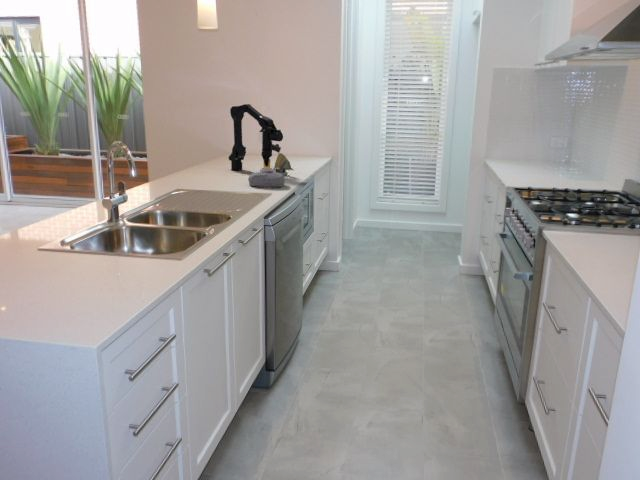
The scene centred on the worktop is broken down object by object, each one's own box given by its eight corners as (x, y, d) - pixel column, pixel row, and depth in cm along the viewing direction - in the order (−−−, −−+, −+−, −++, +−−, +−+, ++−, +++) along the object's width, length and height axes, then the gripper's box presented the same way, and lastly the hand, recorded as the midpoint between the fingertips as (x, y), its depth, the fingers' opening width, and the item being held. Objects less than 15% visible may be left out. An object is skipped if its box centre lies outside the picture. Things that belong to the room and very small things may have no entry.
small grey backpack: (285, 184, 314) (250, 182, 315) (286, 169, 311) (250, 168, 313) (281, 189, 299) (245, 187, 301) (282, 173, 297) (245, 172, 298)
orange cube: (263, 167, 340) (263, 159, 339) (263, 166, 344) (263, 158, 342) (270, 167, 340) (270, 159, 339) (270, 167, 344) (270, 158, 343)
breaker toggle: (277, 170, 342) (284, 160, 338) (280, 169, 344) (287, 160, 341) (279, 172, 342) (286, 162, 338) (282, 171, 344) (289, 161, 340)
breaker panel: (260, 175, 339) (260, 168, 338) (260, 171, 355) (260, 164, 354) (285, 175, 340) (286, 169, 339) (285, 171, 357) (285, 165, 356)
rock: (294, 164, 373) (281, 161, 376) (292, 155, 366) (279, 151, 369) (287, 175, 367) (274, 172, 371) (285, 166, 360) (271, 163, 364)
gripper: (280, 142, 329) (280, 168, 334) (280, 138, 347) (279, 163, 351) (261, 141, 328) (261, 168, 333) (262, 138, 346) (262, 163, 350)
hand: (266, 165), depth 342 cm, fingers closed on orange cube, 4 cm apart
